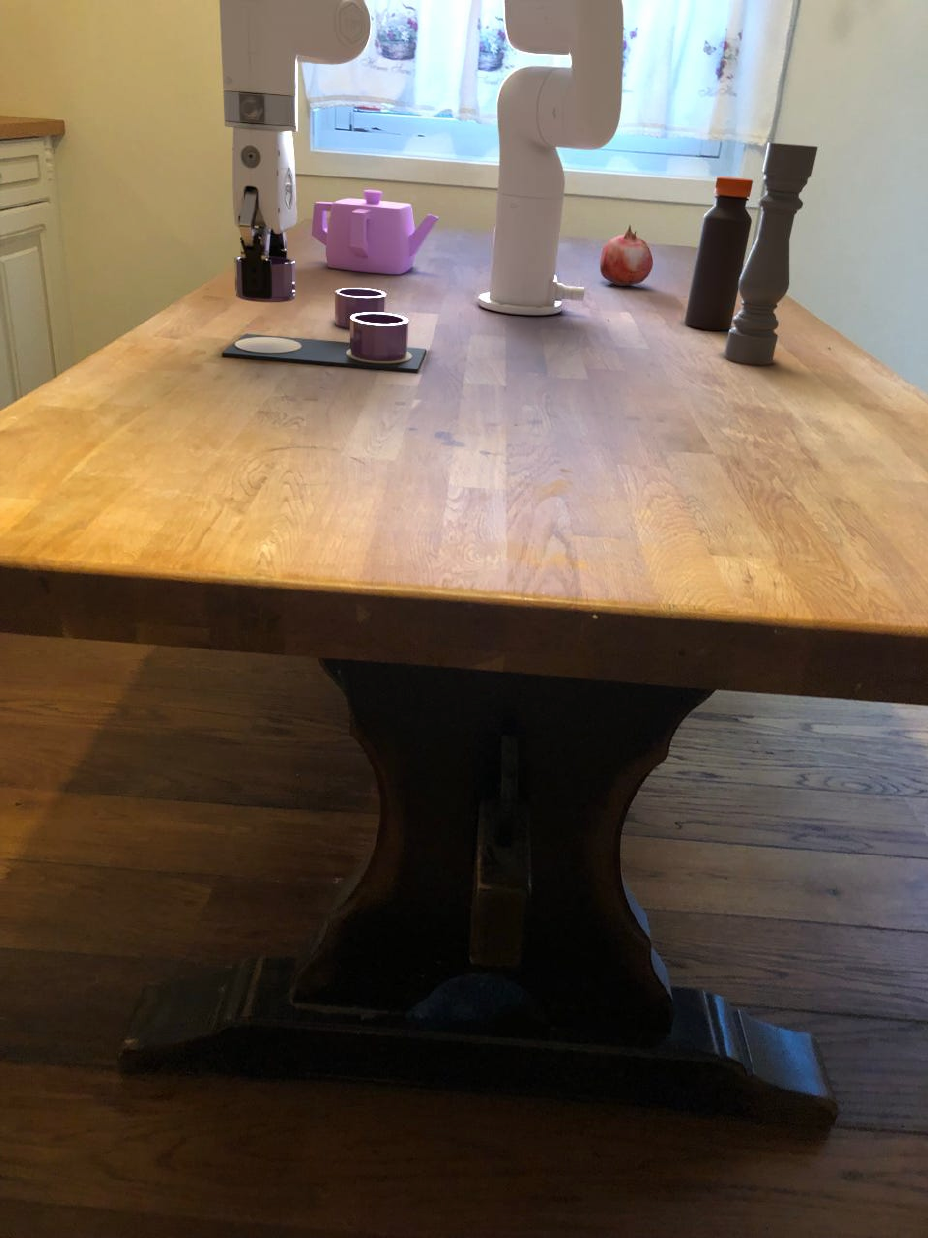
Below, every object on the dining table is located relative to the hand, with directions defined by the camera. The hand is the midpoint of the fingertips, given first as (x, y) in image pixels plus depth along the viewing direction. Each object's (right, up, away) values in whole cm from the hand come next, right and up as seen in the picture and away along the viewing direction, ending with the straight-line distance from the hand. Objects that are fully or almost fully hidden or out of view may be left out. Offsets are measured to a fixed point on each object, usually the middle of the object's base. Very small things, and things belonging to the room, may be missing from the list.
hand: (265, 290), depth 107 cm
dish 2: (+9, +2, +18) cm, 20 cm away
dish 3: (+13, -6, +3) cm, 14 cm away
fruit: (+51, +22, +62) cm, 83 cm away
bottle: (+59, +6, +34) cm, 68 cm away
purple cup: (0, -1, 0) cm, 1 cm away
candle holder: (+59, -4, +16) cm, 62 cm away
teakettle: (+7, +25, +60) cm, 65 cm away
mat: (+7, -6, +3) cm, 10 cm away
